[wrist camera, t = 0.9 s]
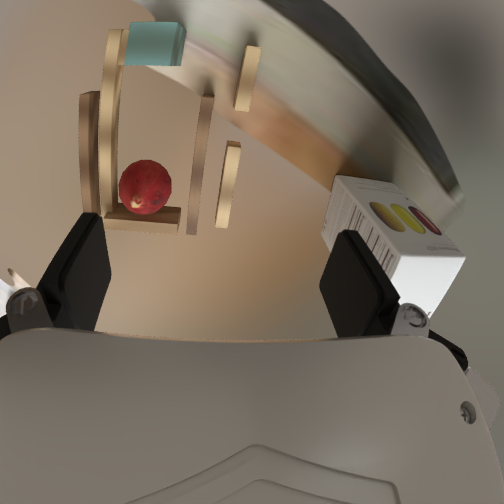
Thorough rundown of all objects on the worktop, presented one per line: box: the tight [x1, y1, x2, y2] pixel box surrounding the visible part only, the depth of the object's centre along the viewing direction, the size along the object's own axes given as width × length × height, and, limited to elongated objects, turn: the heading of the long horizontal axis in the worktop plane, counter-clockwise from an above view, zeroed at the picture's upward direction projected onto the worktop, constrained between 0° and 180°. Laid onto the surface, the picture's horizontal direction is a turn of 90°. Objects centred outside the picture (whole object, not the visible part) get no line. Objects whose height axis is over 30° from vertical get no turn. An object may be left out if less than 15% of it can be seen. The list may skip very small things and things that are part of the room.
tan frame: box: [99, 22, 186, 235], centre depth 26 cm, size 22×10×7 cm, turn 169°
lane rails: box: [79, 91, 215, 235], centre depth 29 cm, size 16×14×3 cm
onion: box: [119, 160, 171, 215], centre depth 29 cm, size 6×6×8 cm
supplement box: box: [321, 175, 466, 318], centre depth 31 cm, size 10×9×17 cm
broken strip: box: [215, 45, 262, 228], centre depth 30 cm, size 21×1×2 cm, turn 169°
